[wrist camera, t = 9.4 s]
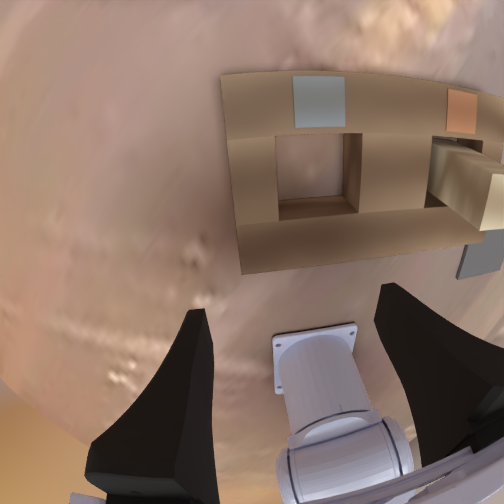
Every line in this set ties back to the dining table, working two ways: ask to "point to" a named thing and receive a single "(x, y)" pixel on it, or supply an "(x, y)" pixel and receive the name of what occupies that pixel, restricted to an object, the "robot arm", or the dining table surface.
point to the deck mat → (483, 255)
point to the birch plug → (467, 183)
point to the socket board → (349, 164)
